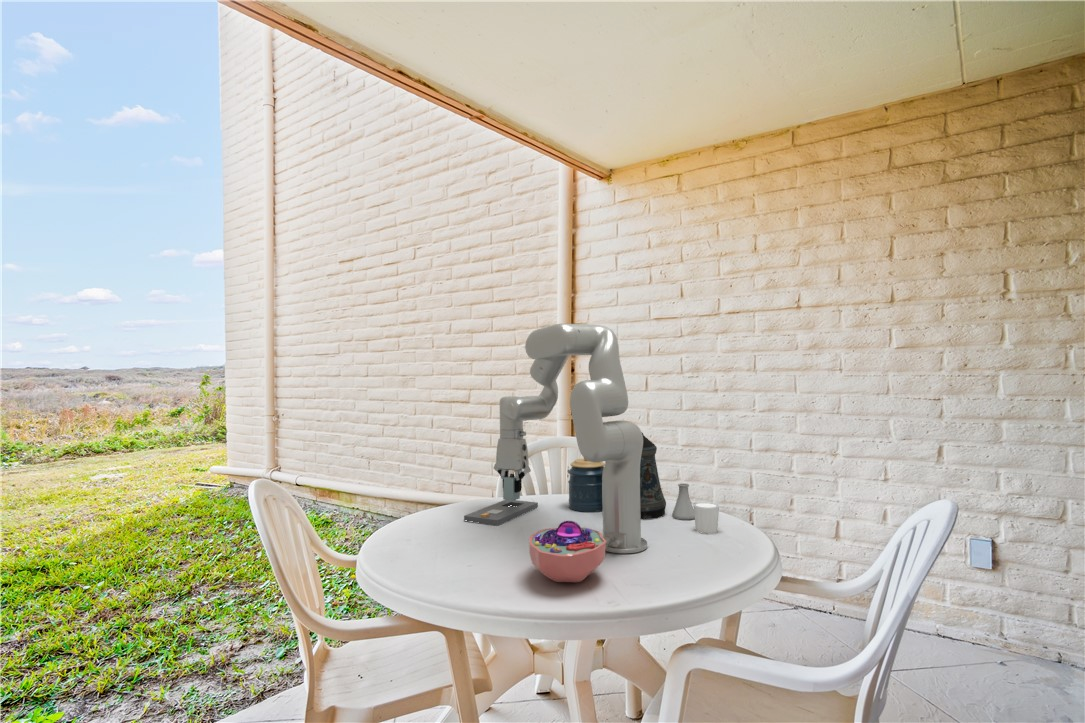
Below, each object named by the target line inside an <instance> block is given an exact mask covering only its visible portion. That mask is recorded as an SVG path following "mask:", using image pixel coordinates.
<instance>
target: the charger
mask: <svg viewBox="0 0 1085 723" xmlns="http://www.w3.org/2000/svg"><path fill="white" fill-rule="evenodd" d="M514 480H516V477H515V473H509V475H508V477H504V487H503V486H502V492H503V494H502V495H503V496H502V500H520V499H521V498H520V497H521V491H520V492H517V493H515V492H514Z"/></svg>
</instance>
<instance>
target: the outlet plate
mask: <svg viewBox="0 0 1085 723" xmlns="http://www.w3.org/2000/svg"><path fill="white" fill-rule="evenodd" d="M510 505H512V506H517V507H508V506H510ZM537 507H538V508H539V503H538V502H536V501H528V500H520V499H517V500H504V499H502V500H501V501H499V502H496V503H493V504H491V505H489V506H486V507H483V508H481V509H478V510H476V511H473V512H470V513H467V514H465V515H464V516H463V521H464V520H467V521H473V522H472V523H474V522H479V523H478V524H481V523H485V524H484V525H488V524H491V525H490V526H495V525H497V526H496V527H498V526H500V524H501V525H503V524H505V523H507V522H509V521H512V520H513V518H514V519H516V518H518V517H520V516H522V514H523V515H525V514H527V513H529V512H531V511H533V510H532V509H534V510H535V508H536V509H537ZM530 510H531V511H530ZM528 511H529V512H528ZM526 512H527V513H526ZM524 513H525V514H524ZM517 516H518V517H517ZM515 517H516V518H515ZM511 519H512V520H511ZM467 521H466V522H467ZM506 521H507V522H506ZM504 522H505V523H504ZM502 523H503V524H502Z"/></svg>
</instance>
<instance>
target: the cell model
mask: <svg viewBox="0 0 1085 723" xmlns="http://www.w3.org/2000/svg"><path fill="white" fill-rule="evenodd" d="M528 540H529V542H528V543H529V544H528V545H529V546H528V547H529V549H528V550H529V556H530V560H531V564H532V565H533V566H534V567H535V568H536V569H537V570H538V571H539V572H540V573H541V574H543V575H544V576H545V577H547V578H548V579H549V580H551V581H554V582H556V583H580V582H582V581H583V580H585V579H586V578H587V577H589V576H590V575H592V574H593V573H594V572H595V571H596V570H597V569H599V567H600V566H601V565H602V564H603V563H604V561H605V558H606V551H605V549H606V540H605V539H604V538H603V533H602V532H600V531H598V530H596V529H592V528H590V527H589V528H588V527H581V526H580V524H579V523H578V522H576V521H574V520H565V521H563V522H561V523H559V525H558V526H557V527H554V528H545V529H541V530H538V531H536V532H534V533H533V534H531V535H530V536H529V539H528Z"/></svg>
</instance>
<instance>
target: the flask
mask: <svg viewBox="0 0 1085 723" xmlns="http://www.w3.org/2000/svg"><path fill="white" fill-rule="evenodd" d="M677 485H678V495H677V499H676V503H675V506H674V507H673V511H672V514H671V516H672V518H674V519H676V520H677V519H678V520H682V521H683V520H684V521H685V520H689V521H690V520H695V516H694V507H693V504H692V502H691V498H690V494H689V486H690V484H689V483H685V482H684V483H683V482H681V483H678V484H677Z"/></svg>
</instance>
